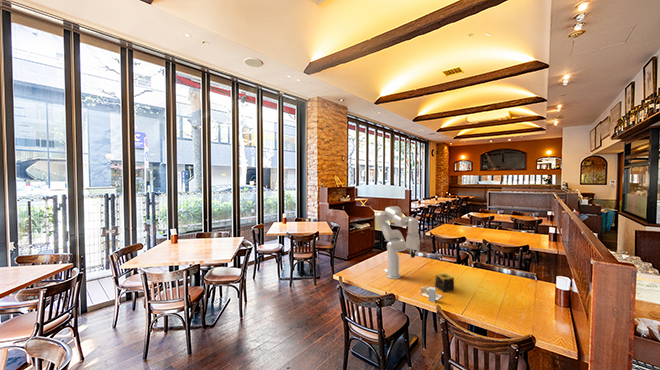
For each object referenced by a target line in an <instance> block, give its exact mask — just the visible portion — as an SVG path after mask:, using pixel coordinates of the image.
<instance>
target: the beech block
mask: <svg viewBox="0 0 660 370" xmlns="http://www.w3.org/2000/svg"><path fill="white" fill-rule="evenodd" d="M420 293H421V294H426V295H429V287H427V286H425V285H422V286H421V287H420Z"/></svg>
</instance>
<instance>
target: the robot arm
mask: <svg viewBox="0 0 660 370" xmlns="http://www.w3.org/2000/svg"><path fill="white" fill-rule="evenodd" d="M375 216H376V217H375V218H376V219H375V220H376V223H377V225H378V226H379V228H380V230H381V232H382V235H383V237H384V239H385V241H386V242H387V243H386V250H387V269H386V268H385V269H384V272H385V273H386V277H387V278H388V279H392V280H394V279H395V280H397V279H400V278H401V277H402V276H401V274H400V256H399V254H398V252H403V251H406V250H408V251H409V253H410V258H412V259H414V258H416V257H415V256H416V252H420V249H421V243H420V242H421V241H420V236H419V219H417V218H415V217H413V216H402V209H401V208H400V207H399V206H398V205H397V206H395V205H394V206H388V207H387V206H386V207H385V209H384V211H380V212H378V213H377V214H376V215H375ZM387 221H389V222H390V221H392V222H393V223H394V225H396V226H399V227H407V231H406V234H407V235H406V239H405V238H404V236H403V233H402V232H401V231H400V230H399V229H392V228H391V226H390V224H389V223H388V222H387ZM405 240H406V241H405Z"/></svg>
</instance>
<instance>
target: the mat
mask: <svg viewBox="0 0 660 370" xmlns="http://www.w3.org/2000/svg"><path fill="white" fill-rule="evenodd" d="M422 295H423V297H425V296H426V298H428V297H429V295H426V294H423V293H421V296H422ZM441 298H443V295H441V294H438V293H436V301H439V300H440V299H441Z"/></svg>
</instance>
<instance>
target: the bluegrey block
mask: <svg viewBox="0 0 660 370" xmlns="http://www.w3.org/2000/svg"><path fill="white" fill-rule="evenodd" d="M428 288H429V298H428V302H430V301H431V303H436V301H437V300H436V294H437V290H436V288H437V287H435V286H434V287H432V286H429V287H428ZM435 300H436V301H435Z"/></svg>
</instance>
